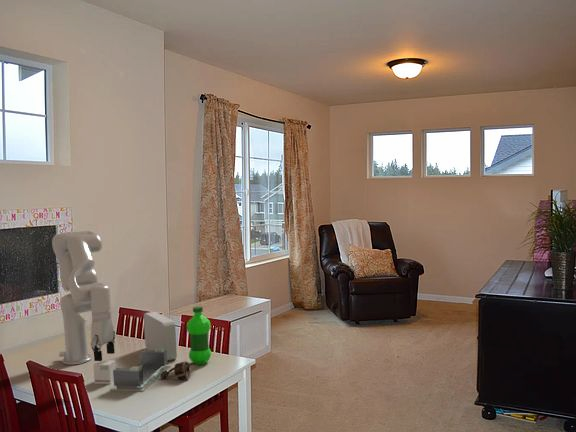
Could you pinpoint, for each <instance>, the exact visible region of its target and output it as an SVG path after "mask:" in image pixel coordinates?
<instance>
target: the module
mask: <svg viewBox="0 0 576 432" xmlns="http://www.w3.org/2000/svg"><path fill="white" fill-rule="evenodd" d="M116 368H117V364H116V360H103V359H102V361H96V362H95V363H93V376H94V377H93V379H94V384H95V385H98V384H99V385H101V384H102V385H111V384H112V382H113V383H114V377H113V370H115V369H116Z"/></svg>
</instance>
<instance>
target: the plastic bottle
mask: <svg viewBox="0 0 576 432" xmlns="http://www.w3.org/2000/svg"><path fill="white" fill-rule="evenodd" d="M203 309H204V308H203V306H201V305H200V306H199V305H197V306H194V307H193V308H192V312H193V314H194V315H193V316H192V317H191V318H190V319H189V320H188V321H187V323H186V330H187V332H188V334H189V339H190V342H189V343H190V351H189V353H188V358H189V360H190V361H191V362H192V363H194V364H195V365H198V366H199V365H200V364H201V365H205V364H206V363H207V362H208V361H209V360H210V358H211V356H212V350H211V349H210V347H209V345H210V343H209V331H210V329H211V325H212V324H211V321H210V320H209V319H208V318H207V317H206V316H204V315H203V314H202V313H203V311H204V310H203Z"/></svg>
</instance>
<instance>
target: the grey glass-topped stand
mask: <svg viewBox="0 0 576 432" xmlns="http://www.w3.org/2000/svg"><path fill="white" fill-rule="evenodd" d="M139 358H140V359H139V362H140V366H132V367H129V368H128V367H126V368H125V367H116V369H115V370H113V377H114V382H113V386H112V387H111V388H109V389H110V390H109V391H114V392H115V391H119V392H120V391H121V392H144V391H146V390H147V389H148V388H149V387H150V386H152V385H153V384H154V383H155V382H157V381H158V379H160V378H161V374H162V372H163V371H167V370H168V371H169V370H170V369H172V365H168V361H167V350H164V348H158V349H156V350H148V349H142V350H141V351H140V352H139ZM168 371H167V372H168Z"/></svg>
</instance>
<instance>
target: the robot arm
mask: <svg viewBox="0 0 576 432" xmlns="http://www.w3.org/2000/svg"><path fill="white" fill-rule="evenodd" d="M51 242H52V243H51V245H52V250H53V253H54V254H55V256H56V259H57V262H58V266H59V267H58V268H59V275H60V283H61V287H62V289H63V290H64V291H67V292H68V291H69V292H70V293H68V294H65V295H63V296H62V297H61V299H60V300H59V301H60V302H59V304H60V305H59V306H60V309H61V313H62V319H63V330H64V331H63V332H64V345H65V350H63V351H61V350H60V351H59V354H58V357H63V359H62V363H63V364H64V365H69V366H71V365H72V366H73V365H81V364H85V363H88V362H89V361H91V360H92V358H93V359H94V360H93V361H94V362H98V361H102V360H103V353H102V352H103V351H102V350H101V349H102V347H103V346H104V345H106V354H107V355H108V354H109V355H112V354H115V353H116V352H115V351H116V349H115V343H116V342H115V338H116V331H115V330H114V325H113V320H112V304H111V292H110V286H108V285H106V283H104V282H99V279H98V274H97V271H96V270H95V269H94V266H95V265H96V264H95V260H94V257H93V253H98V252H100V251H101V250H102V248H103V241H102V238H101V237H100V235H98V234H97V233H96V232H94V231H90V230H81V231H80V230H79V231H70V232H69V231H67V232H61V233H58V234H55V235H54V236H53V237H52V240H51ZM87 312H91V329H90V335H91V336H90V343H89V344H90V347H91V350H92V352H93V357H92V355H91V354H89V351H88V350H89V349H88V334H87V322H86V320H85V319H84V317H82V316H81V314H83V313H87Z"/></svg>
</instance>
